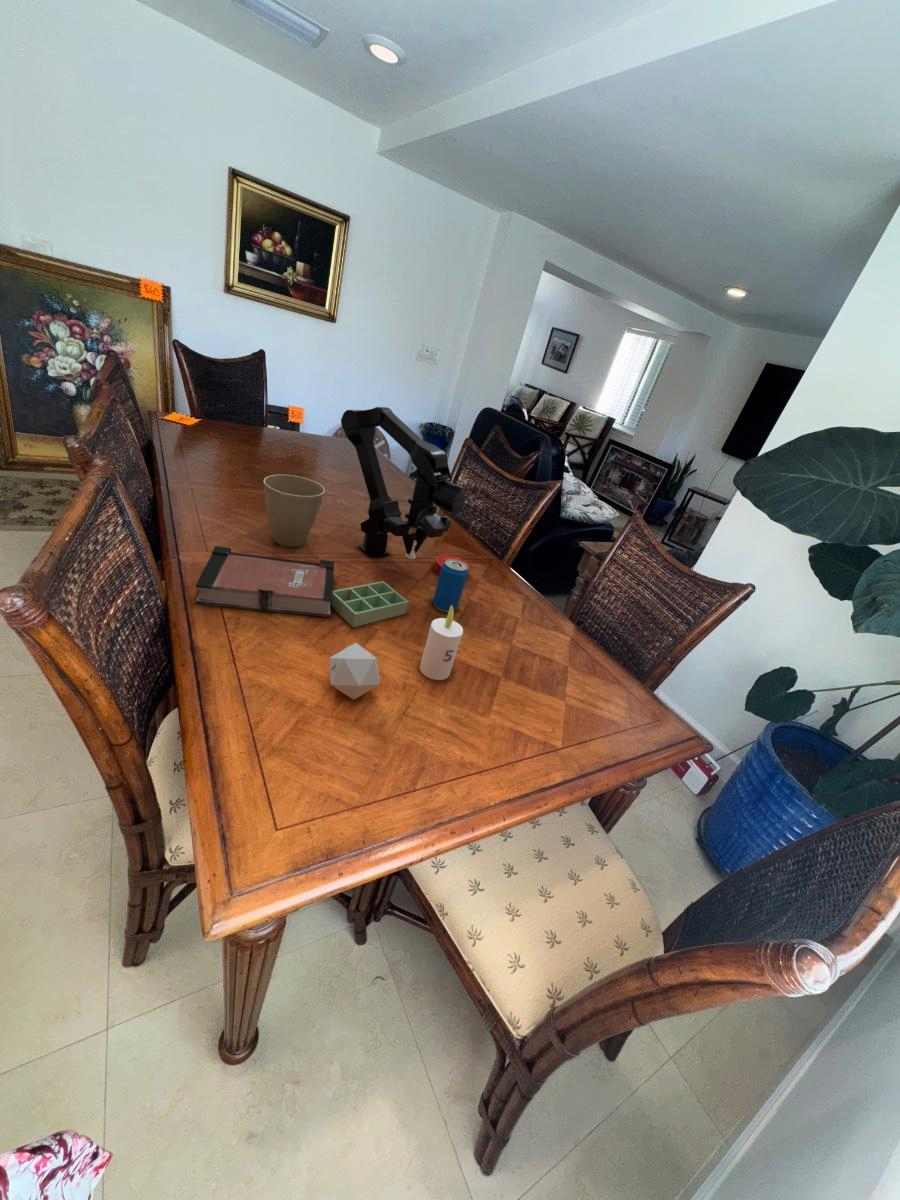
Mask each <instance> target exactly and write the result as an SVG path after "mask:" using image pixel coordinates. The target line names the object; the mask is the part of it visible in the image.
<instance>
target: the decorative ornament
mask: <svg viewBox="0 0 900 1200" xmlns="http://www.w3.org/2000/svg"><path fill="white" fill-rule="evenodd" d="M447 559H456V560H460V561H462V562H464V563H465V564H466V565H467V566H468V568H467V570H468V571H469V568H470V566H469V564H468V562H467V561H465V559H462V558H461V557H458V556H454V555H449V554H442V555H438V556H437V557H436V558H435V563H434V565H433V570H434V572H435V573H436V574H437V575H438V576H439V575H440V571H441V568H442V565H443V564H444V563H445V561H446V560H447Z"/></svg>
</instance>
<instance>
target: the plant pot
mask: <svg viewBox="0 0 900 1200" xmlns="http://www.w3.org/2000/svg"><path fill="white" fill-rule="evenodd" d="M263 492H264V503H265V509H266V513H267V519H268V522H269V527H270V531H271V533H272V536H273V539H274V541H275V543H276V544H278V545H280V546H282V547H287V548H297V547H300V546H302V545H303V544H304V542H305V541H306V539H307V537H308V535H309V534H310V532H311V530H312V528H313V526H314V524H315V521H316V519H317V516H318V514H319V512H320V508H321V507H322V506H321V505H322V502H323V498H324V495H325V493H326V489H325V488H324V486H323V485H322V484H321V483H319V482H317V481H314V480H313V479H309V478H306V477H302V476H300V475H299V476H298V475H292V474H283V473H282V474H272V475H271V474H270V475H268V476H266V477H264V478H263Z"/></svg>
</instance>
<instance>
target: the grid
mask: <svg viewBox="0 0 900 1200" xmlns="http://www.w3.org/2000/svg"><path fill="white" fill-rule="evenodd" d="M408 605H409V601H408V600H407V599H406V598H405V597H404V596H402V595H401V594H400V593H399V592H397V591H396V590H395V589H393V587H391V586H390V585H389V584H388V583H386V582H385V581H384V580H383V581H377V582H372V583H366V584H361V585H357V586H352V587H346V588H345V587H344V588H340V589H336V590H335V589H334V590H333V595H332V602H331V608H332V609H334V611H335V612H337V614H338V615H339V616H341V618H342V619H343V620H345V621H346V622H347V623H348V624H349V626H351V628H356V627H361V626H365V625H368V624H372V623H376V622H379V621H384V620H386V619H392V618H396V617H399V616H404V615H407V610H408Z"/></svg>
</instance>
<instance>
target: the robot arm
mask: <svg viewBox="0 0 900 1200" xmlns="http://www.w3.org/2000/svg"><path fill="white" fill-rule="evenodd" d="M340 425H341V427H342V430H343V432H344V434H345V436H346V438H347V440H349V442H350V443H351V444H352V445H353V446H354V448H355V451H356V455H357V458H358V462H359V465H360V469H361V472H362V477H363V480H364V483H365V487H366V489H367V494H368V497H369V505H368V510H367V512H368V519H366V520H364V521H362V522H360V531H361V532H362V533H364V539H363V544H360V545H358V549H360V550H361V551H362V552H364V553H365V554H366V555H367V556H368V557H370V558H375V557H382V556H388V555H389V554H390V552H389V551H388V550H387V547H388V539H389V534H388V533H390V534H391V535H393V536H394V537H402V540H403V545H404V549H405V552H406V553H405V554H410V553H411V550H412V546H413V543H414V540H415V541H416V542H417V545H416V546H414V547H415V549H414V551H415V554H417V553H418V551H419V550H420V548H421V546H422V545H423V544H424V542H425V541H426V539H427V538H430V539H433V538H436V537H438V538H440V537H442V535H443V534H444V532H449V530H450V527H451V522H452V519H451V517H450V516H448V515H447V516H443V515H441V514H439V513H437V511H438V508H437V507H439V508H441V509H442V510H445V511H447V512H449V513H452V514H454V515H457V514H458V513H460V512H461V510H462V509H463V507H464V506H465V502H466V495H465V494H466V493H465V492H464V490H465V486H464V485H461V484H456V483H454V482H452V481H453V477H452V474H451V470H450V468H449V464H448V455H447V453H446V452H445V451H444V450H443V449H441V448H439V447H438V446H436V445H435V444H433V443H430V442H428V441H425V440H424V439H422V438H421V437H420V436H419V435H418V434H417V433H415V432H414V430H412V429H411V428H410V426H408V425H407V424H406V423H405V422H404V421H403V420H401V418H399V417H398V416H397V415H396V414H395V413H394V412H393V410H392V409H391V408H389V407H388V406H387V407H386V406H376V407H374V408H370V409H347V410H345V411H344V412H343V414H342V417H341V418H340ZM378 427H380V428H381V429H382V430H383V431H384V432H386V434H387V435H389V436H390V437H391V438H392V439H393V440H394V441H395V442H396V443H397V444H398V445H399V446H400V447H401V448H402V449H404V451H406V452H407V454H408V455H409V457H410V460H411V462H412V464H413V465H414V467H415V468H416V469H415V470H414V471H412V472H410V473H409V477H412V478H413V479H416V480H415V484H414V489H413V492H412V497H411V498H408V500H407V503H408V504H410V505H409V511H408V512H406V513H405V515H404V518H405V519H407V520H404V519H402V517H401V516H402V515H403V513H402V512H401V509H400V505H399V501H398V500H393V499H392V498H391V497H390V496H389V494H388V491H387V487H386V484H385V483H386V482H385V480H384V476H383V472H382V469H381V466H380V462H379V459H378V455H377V454H378V453H377V451H376V448H375V444H374V441H375V438H376V437H375V436H376V428H378ZM435 474H437V475H435Z"/></svg>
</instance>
